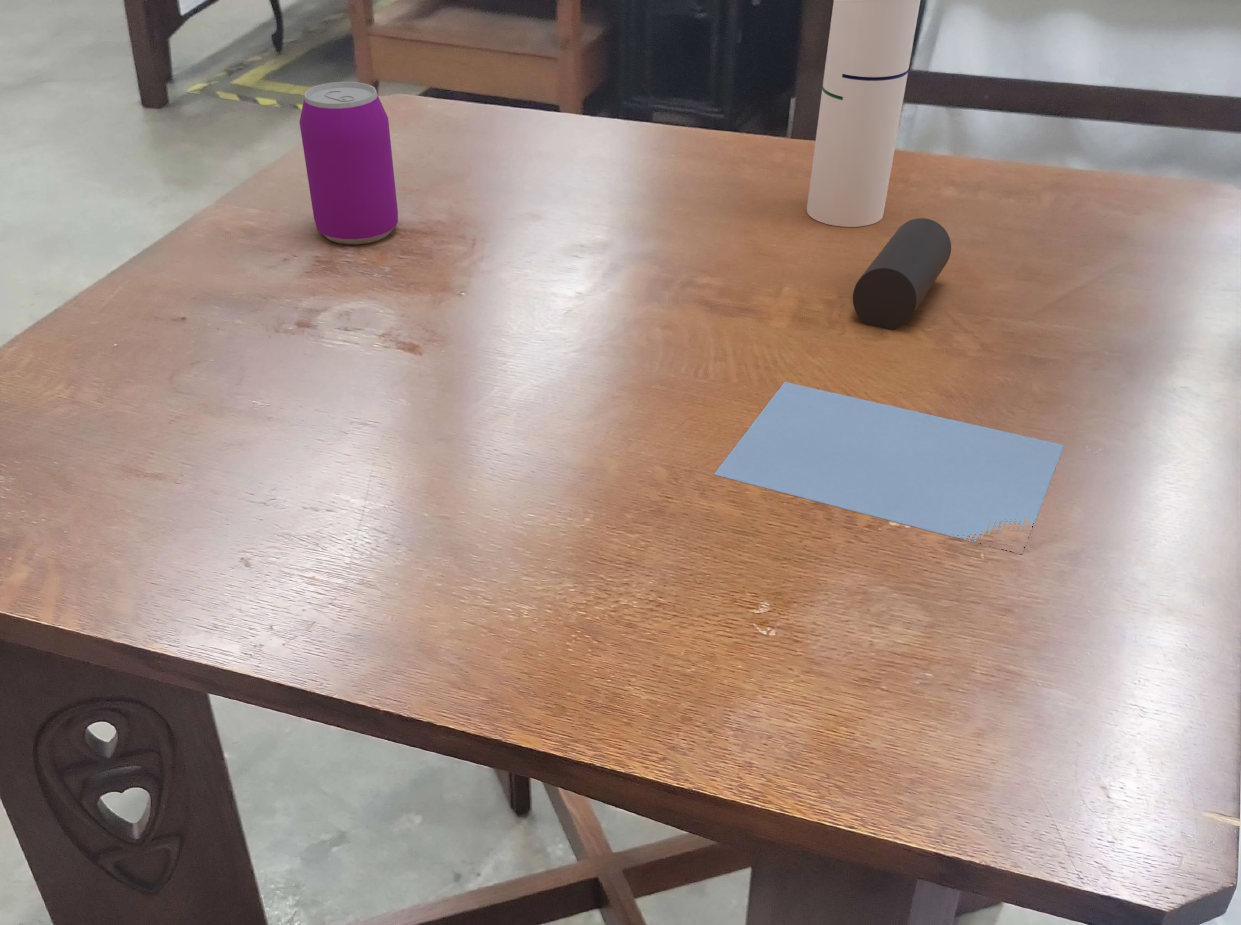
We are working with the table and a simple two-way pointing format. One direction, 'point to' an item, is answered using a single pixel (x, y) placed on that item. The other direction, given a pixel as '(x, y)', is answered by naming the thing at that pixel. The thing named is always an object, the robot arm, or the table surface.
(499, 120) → the table surface
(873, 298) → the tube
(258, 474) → the table surface
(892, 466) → the paper
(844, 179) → the cylindrical container
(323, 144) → the beverage can
